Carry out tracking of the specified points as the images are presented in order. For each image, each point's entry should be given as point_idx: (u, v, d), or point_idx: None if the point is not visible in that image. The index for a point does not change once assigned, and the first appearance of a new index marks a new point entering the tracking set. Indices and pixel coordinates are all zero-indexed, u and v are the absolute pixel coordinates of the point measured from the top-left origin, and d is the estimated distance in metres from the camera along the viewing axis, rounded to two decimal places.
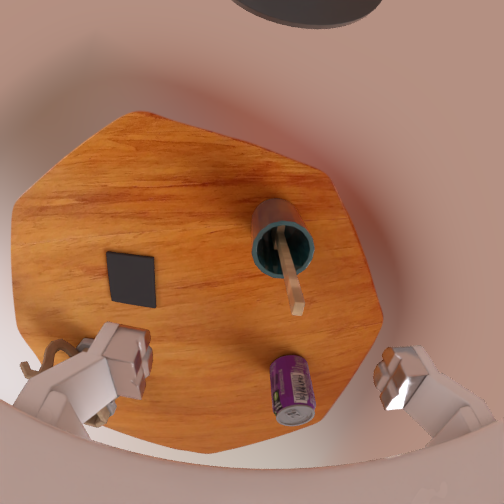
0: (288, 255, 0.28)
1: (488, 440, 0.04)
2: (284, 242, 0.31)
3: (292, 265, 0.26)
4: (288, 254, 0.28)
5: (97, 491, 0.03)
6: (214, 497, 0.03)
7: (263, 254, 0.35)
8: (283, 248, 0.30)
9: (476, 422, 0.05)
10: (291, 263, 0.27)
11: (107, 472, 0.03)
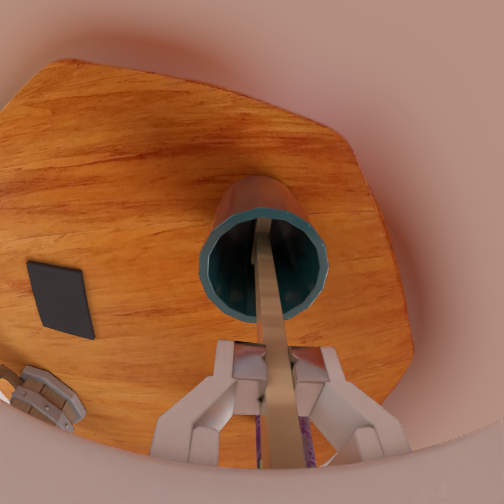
0: (272, 286, 0.12)
1: (488, 440, 0.04)
2: (267, 253, 0.15)
3: (279, 317, 0.10)
4: (272, 283, 0.12)
5: (97, 491, 0.03)
6: (214, 497, 0.03)
7: (231, 273, 0.19)
8: (263, 267, 0.14)
9: (377, 450, 0.05)
10: (277, 310, 0.11)
11: (106, 472, 0.03)
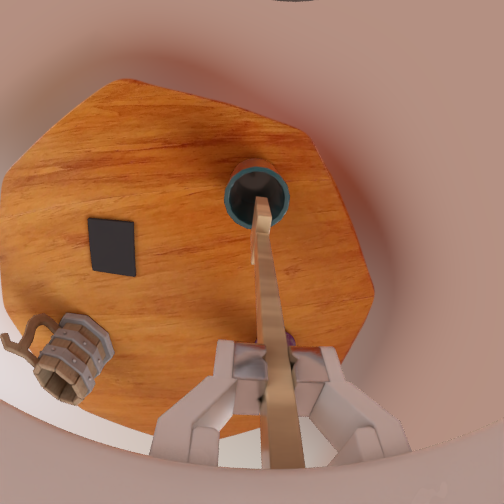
0: (272, 286, 0.12)
1: (488, 440, 0.04)
2: (267, 254, 0.15)
3: (279, 317, 0.10)
4: (272, 283, 0.12)
5: (97, 491, 0.03)
6: (214, 497, 0.03)
7: (239, 209, 0.33)
8: (262, 267, 0.14)
9: (377, 450, 0.05)
10: (277, 310, 0.11)
11: (107, 471, 0.03)
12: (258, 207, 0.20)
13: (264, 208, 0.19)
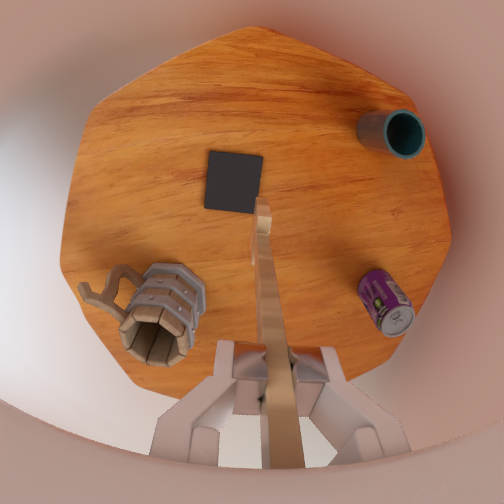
0: (272, 287, 0.12)
1: (488, 440, 0.04)
2: (267, 254, 0.15)
3: (279, 318, 0.10)
4: (272, 284, 0.12)
5: (97, 491, 0.03)
6: (214, 497, 0.03)
7: None
8: (262, 267, 0.14)
9: (377, 450, 0.05)
10: (277, 311, 0.11)
11: (107, 471, 0.03)
12: (258, 207, 0.19)
13: (264, 208, 0.19)
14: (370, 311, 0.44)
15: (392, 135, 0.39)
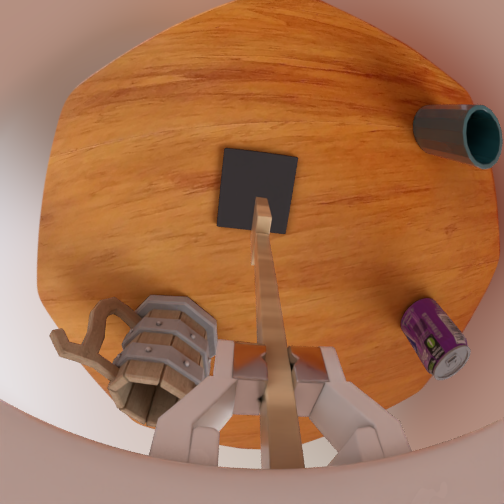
0: (272, 287, 0.12)
1: (488, 440, 0.04)
2: (267, 254, 0.15)
3: (278, 318, 0.10)
4: (272, 284, 0.12)
5: (97, 491, 0.03)
6: (214, 497, 0.03)
7: None
8: (263, 268, 0.14)
9: (377, 450, 0.05)
10: (277, 311, 0.11)
11: (107, 471, 0.03)
12: (258, 208, 0.19)
13: (264, 209, 0.19)
14: (420, 351, 0.33)
15: None
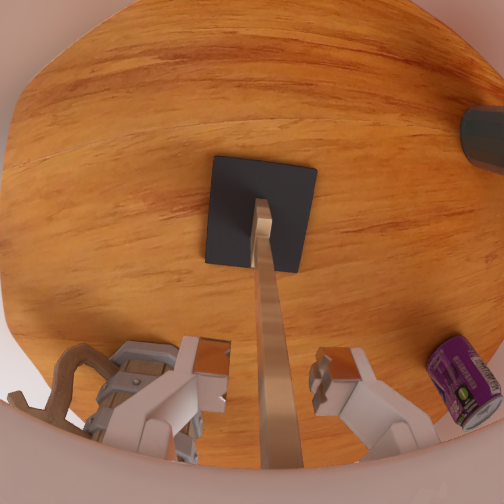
0: (272, 292, 0.12)
1: (488, 440, 0.04)
2: (267, 257, 0.15)
3: (279, 324, 0.10)
4: (272, 289, 0.12)
5: (97, 491, 0.03)
6: (214, 497, 0.03)
7: None
8: (262, 272, 0.14)
9: (411, 442, 0.05)
10: (277, 317, 0.10)
11: (106, 472, 0.03)
12: (258, 209, 0.19)
13: (264, 210, 0.19)
14: (449, 401, 0.24)
15: None
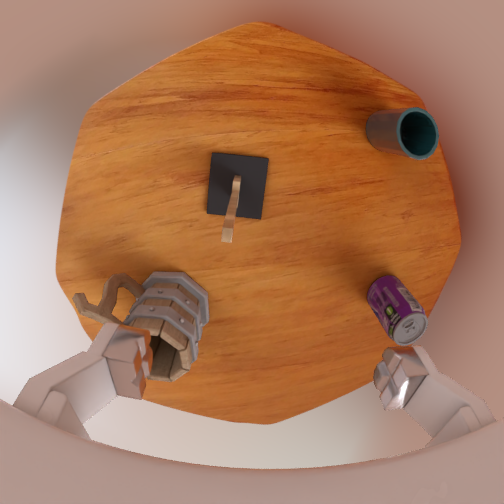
0: (234, 202, 0.30)
1: (488, 440, 0.04)
2: (235, 195, 0.33)
3: (234, 207, 0.28)
4: (234, 202, 0.30)
5: (97, 491, 0.03)
6: (214, 497, 0.03)
7: None
8: (232, 198, 0.31)
9: (476, 422, 0.05)
10: (234, 206, 0.28)
11: (107, 472, 0.03)
12: (234, 178, 0.37)
13: (237, 179, 0.37)
14: (381, 319, 0.42)
15: (402, 135, 0.37)
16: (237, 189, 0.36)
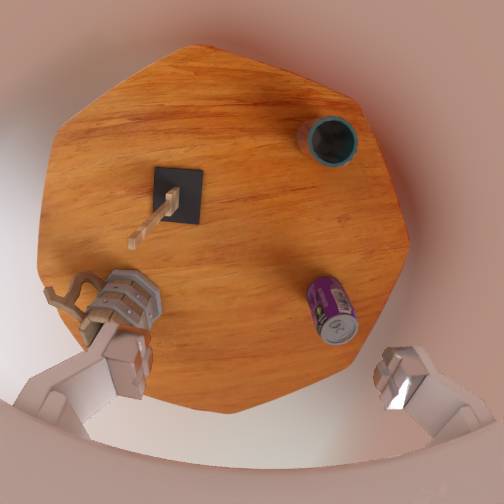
0: (155, 214, 0.35)
1: (488, 440, 0.04)
2: (163, 207, 0.38)
3: (151, 219, 0.33)
4: (156, 213, 0.35)
5: (97, 491, 0.03)
6: (214, 497, 0.03)
7: None
8: (157, 210, 0.36)
9: (476, 422, 0.05)
10: (152, 218, 0.33)
11: (107, 471, 0.03)
12: (169, 191, 0.42)
13: (172, 191, 0.42)
14: (313, 318, 0.47)
15: (334, 142, 0.42)
16: (169, 200, 0.40)
